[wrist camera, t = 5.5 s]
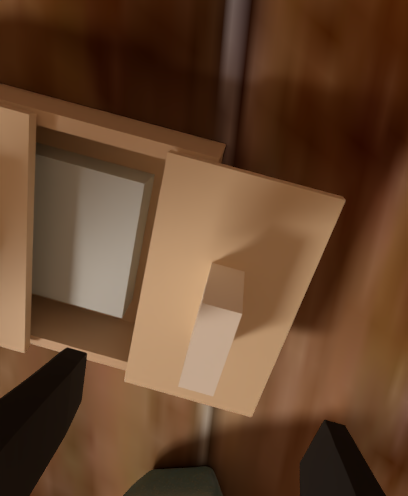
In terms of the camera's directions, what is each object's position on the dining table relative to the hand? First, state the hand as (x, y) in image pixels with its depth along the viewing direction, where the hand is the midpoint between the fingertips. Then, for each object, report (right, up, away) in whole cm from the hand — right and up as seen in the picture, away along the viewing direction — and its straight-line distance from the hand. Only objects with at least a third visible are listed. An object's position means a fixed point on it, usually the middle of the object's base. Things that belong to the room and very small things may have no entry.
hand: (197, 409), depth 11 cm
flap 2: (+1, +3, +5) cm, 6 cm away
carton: (-7, +6, +9) cm, 13 cm away
